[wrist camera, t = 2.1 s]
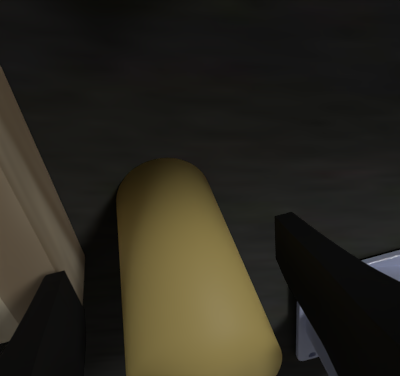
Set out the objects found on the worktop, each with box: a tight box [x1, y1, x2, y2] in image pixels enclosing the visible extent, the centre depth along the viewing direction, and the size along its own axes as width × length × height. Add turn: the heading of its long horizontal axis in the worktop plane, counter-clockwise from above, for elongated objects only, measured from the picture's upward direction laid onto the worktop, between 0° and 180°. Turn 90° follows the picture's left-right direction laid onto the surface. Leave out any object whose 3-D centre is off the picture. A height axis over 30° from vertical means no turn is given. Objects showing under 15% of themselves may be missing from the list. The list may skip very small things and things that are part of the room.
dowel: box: [116, 158, 282, 376], centre depth 13 cm, size 4×4×8 cm
